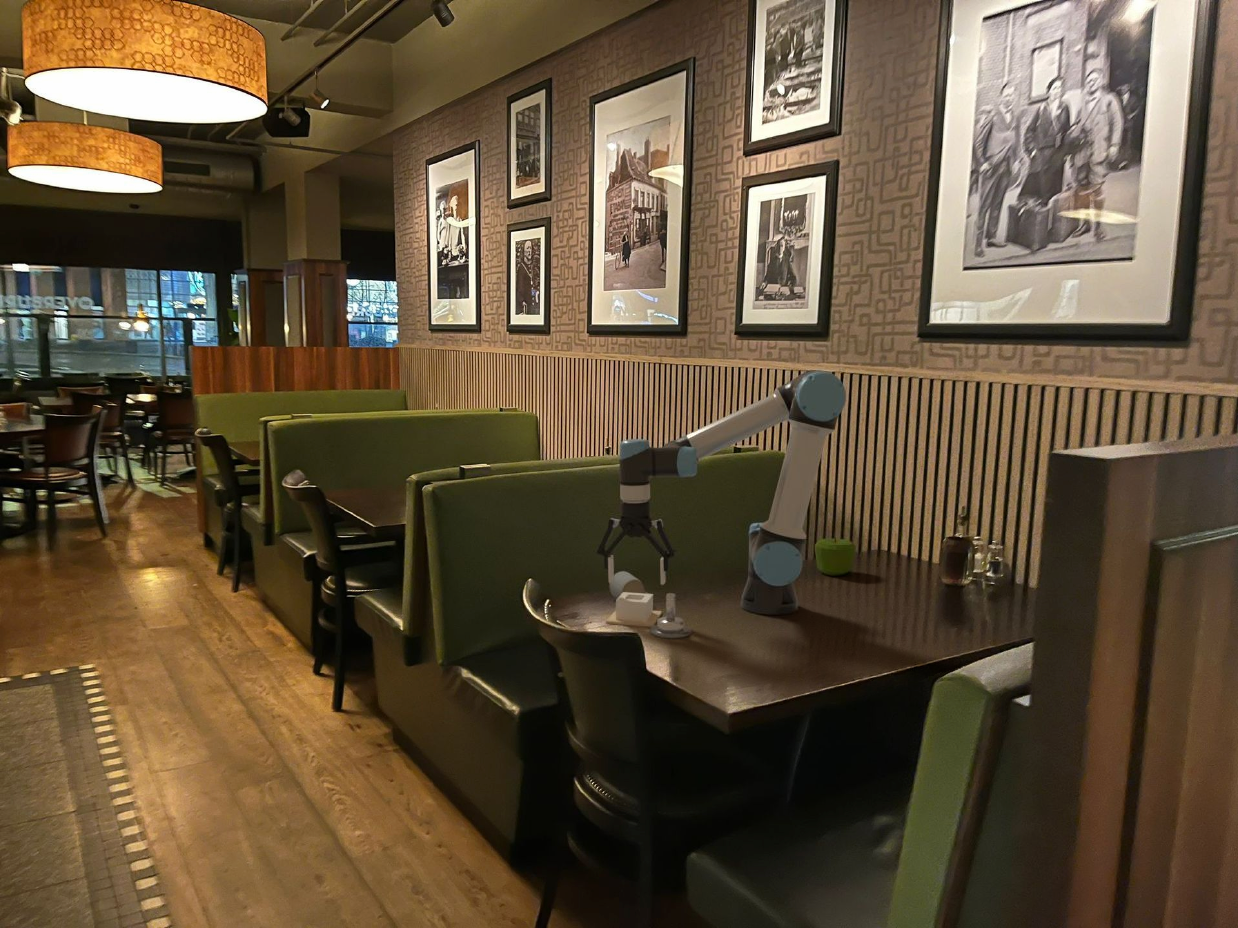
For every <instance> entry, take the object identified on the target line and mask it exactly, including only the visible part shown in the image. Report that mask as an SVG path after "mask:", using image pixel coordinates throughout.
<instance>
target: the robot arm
mask: <svg viewBox="0 0 1238 928" xmlns="http://www.w3.org/2000/svg"><path fill="white" fill-rule="evenodd" d="M774 389H775V390H774V392H773V394H771V395H769V396H767V397H765V398H763V399H760V400H758V401H756V402H753V403H752V404H749V405H747V406H745V407H744V408H741V409H739V410H736V411H734V412H732V413H730V414H729V415H726V416H724V417H722V418H720V419H717V420H715V421H714V422H713V421H712V422H711V423H709V424H707V425H705V426H703V427H701V428H698V429H697V430H694V431H692V432H690V433H688V434H686V435H683V436H681V437H679V438H677V439H676V440H673V439H672V440H670V441H667V443H665V444H664V445H663V446H662V447H653V446H651V445H650V442H649V440H648V439H645V438H643V439H642V438H640V439H639V438H634V439H623V440H622V441H621V442H620V443H619V459H618V461H619V482H620V484H619V485H620V487H619V489H620V491H619V492H620V493H619V494H620V496H619V497H620V500H621V502H620V519H617V518H615V517H611V518H610V519H609V520H608V525H607V529H606V531H605V533H604V536H603V538H602V539H601V540H602V541H601V542H600V544H599V546H598V549H597V551H596V554H597V555H599V556H603V558H604V559H603V560H604V566H603V567H604V569H605V570H608V571H607V572H608V573H607V574H608V583H609V584H610V583H612V582H613V580H614V575H615V574H614V573H615V572H614V570H615V569H614V568H615V565H614V564H615V563H614V555H611V554H612V553H613V551H614V550H615V549H616V548H617V547H618V545H619V544H620V543H621V542H622V541H623V540H624V538H625V537H626V536H627V537H629V538H634V537H635V538H643V537H645V539H646V540H648V541H649V543H650V544H651V546H652V547H654V549H655V550H656V551H657V552H658V553H659V554H660V556H661V558H660V560H659V561H660V562H659V563H660V564H659V565H660V571H659V572H660V585H663V586H664V585H665V583H666V572H668V571H669V570H670V558H673V557H675V555H677V550H676V549H675V547H674V544H673V542H672V540H671V539H670V537H669V535H668V532H667V531H666V529H665V525H664V520H663V519H662V518H659V519H655V520H653V519H652V518H651V502H650V499H651V481H650V480H651V478H683V479H684V478H686V477H688V478H689V477H694V476H696V475H697V473H698V469H697V468H698V461H700V460H702V459H704V458H707V457H709V456H711V455H713V454H715V453H718V452H719V451H722V450H724V449H727V448H728V447H729V448H730V446H733V445H734V444H738V443H740V442H742V441H743V440H746V439H748V438H750V437H753V436H755V435H758V434H759V433H761V432H763V431H766V430H768V429H770V428H772V427H775V426H776V425H779V424H781V423H784V422H789V424H790V425H791V431H790V435H789V439H788V443H787V446H786V451H785V455H784V458H783V461H782V462H783V463H782V464H781V465H782V466H781V470H780V474H779V478H778V481H777V487H776V489H775V492H774V498H773V502H772V506H771V508H770V513H769V516H768V517H769V518H768V519H767V520H766V521H764V522H754V523H751V524H750V526H749V531H748V570H747V572H748V576H747V580H746V583H745V586H744V589H743V592H742V594H741V601H740V607H741V608H742V609H743V610H745V611H748V612H751V613H754V614H758V615H759V614H761V615H768V616H769V615H770V616H772V615H775V616H776V615H777V616H778V615H780V616H781V615H788V614H792V613H795V612H796V611H798V610H799V599H798V596H797V592H796V589H795V586H794V583H793V582H794V581H795V580H796V579H797V578H798V577H799V576H800V574H801V572H802V568H803V563H804V562H803V557H802V556H803V551H804V547H805V543H806V539H807V534H806V533H805V531H804V529H803V527H804V523H805V520H806V515H807V511H808V508H809V505H810V500H811V497H812V492H813V488H814V485H815V481H816V478H817V473H818V470H819V467H820V462H821V458H822V454H823V451H824V446H825V442H826V439H827V436H828V435H830V434H831V433H833V432H835V429H836V426H837V422H838V420H839V416H840V414H841V413H842V411H844V407H845V405H846V401H847V391H846V388H845V386H844V384H843V382H842V381H841V379H839V377H838V376H837V375H835V374H834V373H833V372H828V371H826V370H825V371H824V370H816V369H815V370H813V369H812V370H807V371H805V372H803V373H801V374H799V375H797V376H796V377H795V378H793V379H792V380H790V381H788V382H786V383H784V384H783V385H781V386H779V387H776V388H774ZM618 525H619V526H620V528H621V529H622V532H620V533H619V535H617V537H616V538H615V540H614V541H613V542H612V543H611V544H610V546H609V547H608V548H607V549H606V547H607V544H608V543H609V540H610V538H611V536H612V535H613V532H614V531H615V529H616V528H617V527H618ZM652 526H653V527H654V528H655V529H656V530H657V532H658V534H659V536H660V539H661V540H662V541H663V544H664V546H665V547H664V546H663V544H662V543H661V542H660V541H659V539H658V538H656V536H655V535H654V533H653V532H652V531H651V528H652Z"/></svg>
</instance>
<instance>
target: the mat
mask: <svg viewBox="0 0 1238 928" xmlns="http://www.w3.org/2000/svg"><path fill="white" fill-rule="evenodd" d="M662 614H663V612H662V611H661V610H653V613H652V615H651V616H650V618H649V619H648V621H647V622H643V621H630V620H617V619H616V609H615V610H614V611H613V612H612V614H611V615H610V616H609V617H608V618H607V620H606V621H605V622H606V623H605V624H610V625H622V626H624V625H625V626H632V627H633V626H635V627H648V628H651V627H653V626H655V625H656V622H657V620H658V619H659V618H661V616H662Z"/></svg>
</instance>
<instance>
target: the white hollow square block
mask: <svg viewBox="0 0 1238 928" xmlns="http://www.w3.org/2000/svg"><path fill="white" fill-rule="evenodd" d="M615 610H616V619H617V620H630V621H643V622H647V621H648V619H649V618H650V616H651V615H652V613H653V611H654V594H653V593H649V594H643V593H628V592H623V593H622V594H621V595H620V596H619V597H618V598H616V599H615Z"/></svg>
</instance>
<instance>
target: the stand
mask: <svg viewBox="0 0 1238 928" xmlns="http://www.w3.org/2000/svg"><path fill="white" fill-rule="evenodd" d="M665 601H666V602H665V616H662V617H661V616H660V617H659V618H658V620H657V621H656V622H657V624H654V626H653V627H649V628H650V629H649V633H650V635H651V636H654V637H656V638H661V639H667V640H671V639H672V640H674V639H683V638H687V637H690V635H691V634H692V630H691V628H690V627H688V626H686V625H685V624H684V623H685V621H684V619H683V618H681V617H679V616H676V593H672V592H671V593H669V592H668V593H666V596H665Z"/></svg>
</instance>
